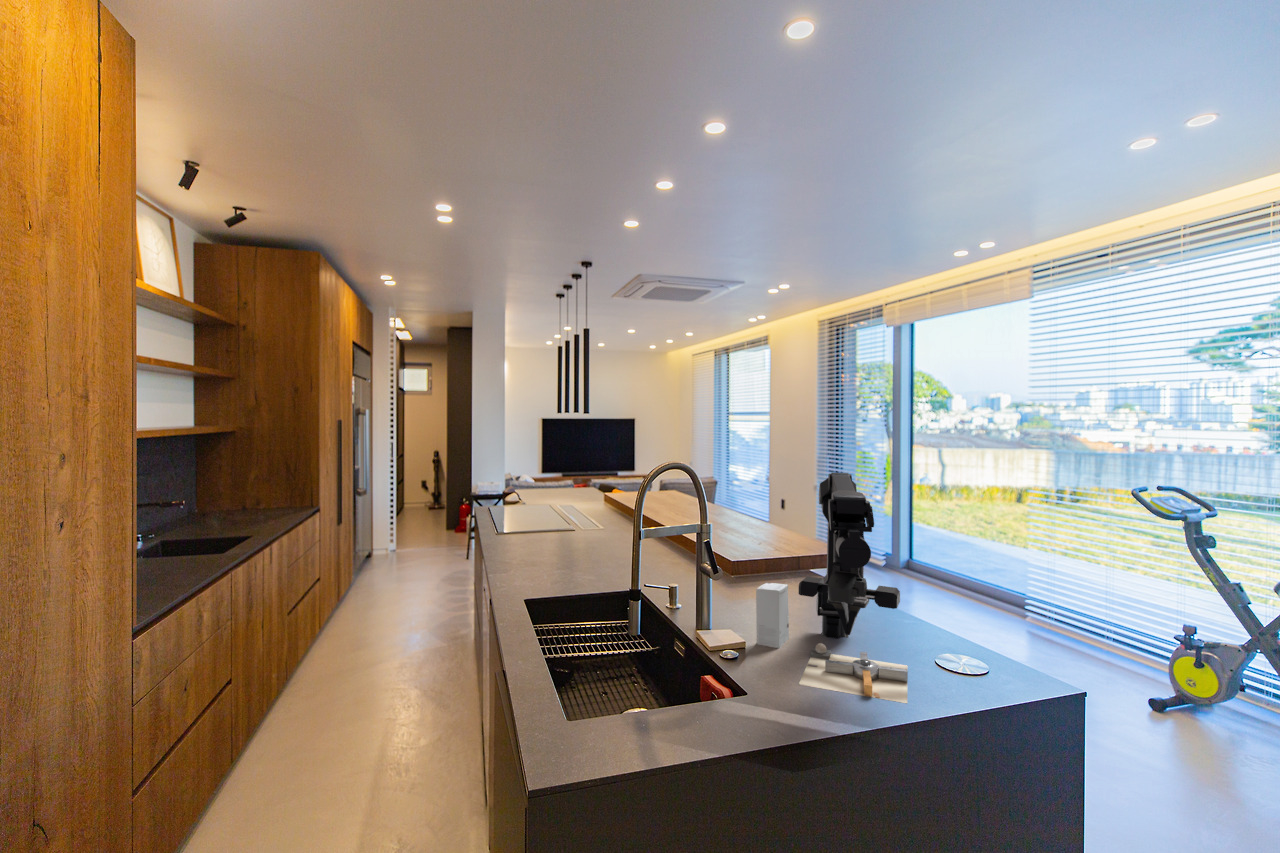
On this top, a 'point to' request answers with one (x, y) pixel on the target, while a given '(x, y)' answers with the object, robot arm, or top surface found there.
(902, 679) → the capstan
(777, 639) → the skincare box
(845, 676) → the board with rotating cross
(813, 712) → the top surface
